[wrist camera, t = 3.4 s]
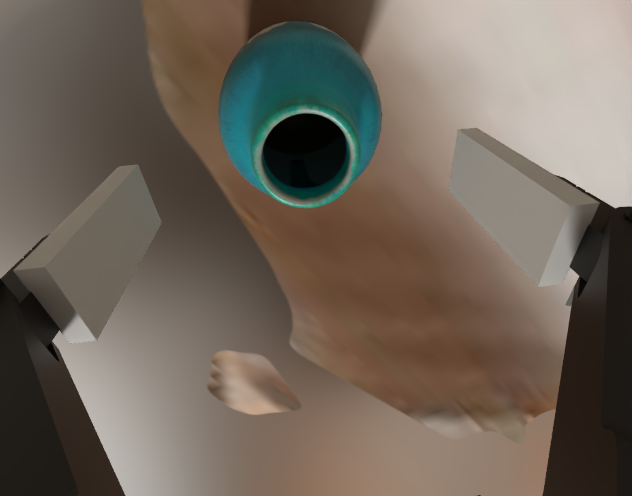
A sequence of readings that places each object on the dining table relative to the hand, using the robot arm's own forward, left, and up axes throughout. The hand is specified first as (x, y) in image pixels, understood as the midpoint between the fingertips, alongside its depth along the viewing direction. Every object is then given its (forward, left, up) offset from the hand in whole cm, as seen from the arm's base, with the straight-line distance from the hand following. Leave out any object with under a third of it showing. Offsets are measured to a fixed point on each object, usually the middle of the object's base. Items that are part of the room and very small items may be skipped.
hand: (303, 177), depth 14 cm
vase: (0, 0, -22) cm, 22 cm away
